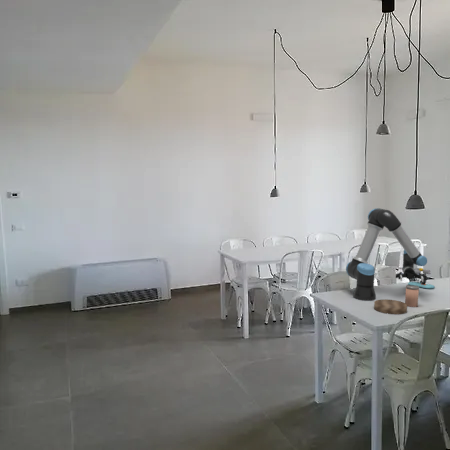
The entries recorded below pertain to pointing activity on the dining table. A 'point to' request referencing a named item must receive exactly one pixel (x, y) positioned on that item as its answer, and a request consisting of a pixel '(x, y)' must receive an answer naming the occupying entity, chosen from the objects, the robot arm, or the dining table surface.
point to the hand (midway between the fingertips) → (412, 279)
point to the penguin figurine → (422, 284)
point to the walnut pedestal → (390, 306)
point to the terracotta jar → (411, 295)
